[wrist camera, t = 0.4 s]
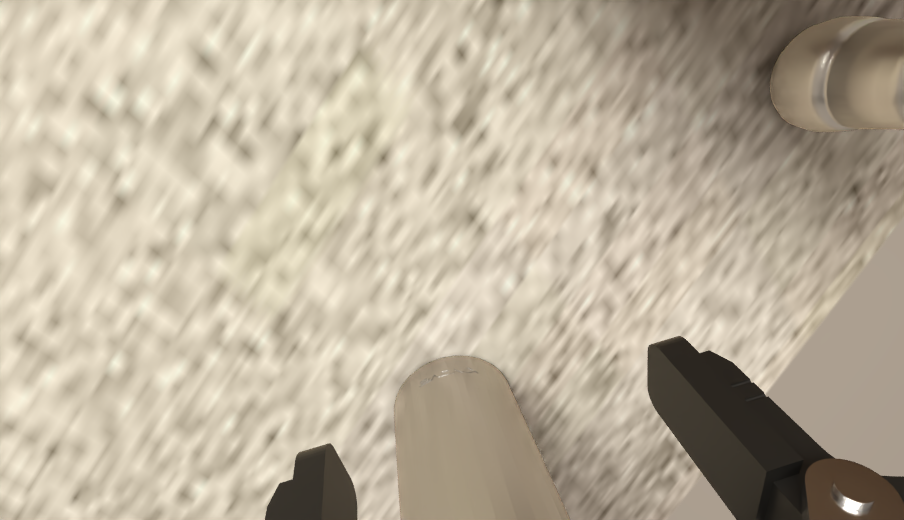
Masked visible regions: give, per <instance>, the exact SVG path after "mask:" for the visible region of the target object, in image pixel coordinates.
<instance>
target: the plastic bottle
mask: <svg viewBox="0 0 904 520" xmlns="http://www.w3.org/2000/svg"><path fill="white" fill-rule="evenodd" d="M770 95H771V100H772V102H773V105H774V107H775V108H776V110H777V112H778V113H779V115H780V116H781V117H782V118H783V119H784V120H785V121H786V122H787V123H789V124H792V125H794V126H797V127H800V128H803V129H806V130H809V131H813V132H840V131H850V130H858V129H897V130H904V19H887V18H881V17H873V16H842V17H838V18H835V19H832V20H828V21H825V22H822V23H819V24H816V25H813V26H811V27H809V28H807V29H805V30H804V31H802V32H801V33H800V34H799V35H797V36H796V37H795V38H794V39H793V40H792V41H791V42H790V43H789V44H788V45H787V46H786V48H785V49H784V50H783V51H782V53H781V54H780V55H779V57H778V59H777V61H776V63H775V65H774V68H773V71H772V74H771V79H770Z"/></svg>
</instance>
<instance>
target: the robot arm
mask: <svg viewBox="0 0 904 520" xmlns="http://www.w3.org/2000/svg"><path fill="white" fill-rule="evenodd" d="M648 392H649V396H650V399H651V401H652V404H653V406H654V408H655V409H656V411H657V412H658V414H659V415H660V416H661V418H662V419H663V421H664V422H665V423H666V425H667V426H668V427H669V429H670V430H671V431H672V433H673V434H674V435H675V437H676V438H677V440H678V441H679V442H680V444H681V445H682V446H683V448H684V449H685V450H686V452H687V453H688V454H689V456H690V457H691V458H692V460H693V461H694V463H695V464H696V465H697V467H698V468H699V469H700V471H701V472H702V473H703V475H704V476H705V477H706V479H707V480H708V482H709V483H710V484H711V486H712V487H713V488H714V490H715V491H716V492H717V494H718V495H719V496H720V498H721V499H722V500H723V502H724V503H725V505H726V506H727V507H728V509H729V510H730V511H731V513H732V514H733V515H734V517H735V518H736V519H737V520H904V477H892V476H880V475H879V474H877V473H876V472H874V471H873V470H871V469H869V468H867V467H865V466H863V465H860V464H858V463H855V462H852V461H848V460H843V459H835V458H834V457H832V456H831V455H830V454H828V453H827V452H826V451H825V450H824V449H823V448H821V447H820V446H819V445H818V444H817V443H816V442H815V441H814V440H813V439H812V438H811V437H810V436H809V435H808V434H807V433H806V432H805V431H804V430H802V428H801V427H799V426H798V425H797V424H796V423H795V422H794V421H793V420H792V419H791V418H790V417H789V416H788V415H787V414H786V413H785V412H784V411H783V410H782V409H781V408H780V407H778V405H776V404H775V403H774V402H773V401H772V400H771V399H770V398H769V397H766V396H765V394H764V392H763V391H762V390H761V389H760V388H759V387H758V386H757V385H756V384H755V383H751V381H750V379H749V378H748V377H747V376H746V375H745V374H744V373H743V372H742V371H741V370H740V369H739V368H738V367H737V366H736V365H735V364H734V363H733V362H731V361H729V360H727V359H725V358H723V357H721V356H719V355H717V354H715V353H713V352H711V351H706V352H703V353H699V352H698V351H697V350H696V349H695V348H694V347H693V346H692V345H691V344H690V343H689V342H688V341H687V340H686V339H684V338H683V337H681V336H677V337H674V338H671V339H667V340H664V341H661V342H658V343H654V344H651V345H649V347H648ZM394 423H395V438H396V457H397V473H398V488H399V504H400V519H401V520H570V518H569V516H568V514H567V512H566V509H565V507H564V505H563V503H562V501H561V498H560V496H559V494H558V492H557V490H556V487H555V485H554V483H553V481H552V479H551V476H550V474H549V472H548V470H547V468H546V466H545V463H544V461H543V459H542V457H541V455H540V452H539V450H538V448H537V446H536V444H535V441H534V439H533V437H532V435H531V433H530V430H529V428H528V426H527V424H526V422H525V419H524V417H523V415H522V412H521V410H520V408H519V406H518V404H517V402H516V399H515V397H514V395H513V393H512V391H511V389H510V386H509V384H508V382H507V380H506V378H505V377H504V376H503V374H502V373H501V372H500V371H499V370H498V369H497V368H496V367H494V366H493V365H492V364H490V363H488V362H486V361H484V360H482V359H478V358H474V357H470V356H451V357H444V358H441V359H438V360H435V361H432V362H429V363H428V364H426V365H424V366H422V367H420V368H419V369H418V370H416V371H415V372H414V373H413V374H412V375H410V376H409V377H408V379H407V380H406V381H405V382H404V384H403V385H402V386H401V388H400V390H399V392H398V394H397V396H396V400H395V405H394ZM265 520H357V500H356V493H355V489H354V485H353V483H352V480H351V478H350V476H349V474H348V473H347V471H346V469H345V467H344V465H343V463H342V462H341V460H340V458H339V456H338V454H337V453H336V451H335V449H334V447H333V446H332V445H331V444H326V445H322V446H319V447H316V448H312V449H309V450H306V451H302V452H299V453H298V454H297V456H296V460H295V467H294V475H293V480H289V481H286V482H283V483H280V484H279V485H278V487H277V489H276V491H275V493H274V495H273V497H272V499H271V501H270V503H269V505H268V507H267V511H266V517H265Z"/></svg>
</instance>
